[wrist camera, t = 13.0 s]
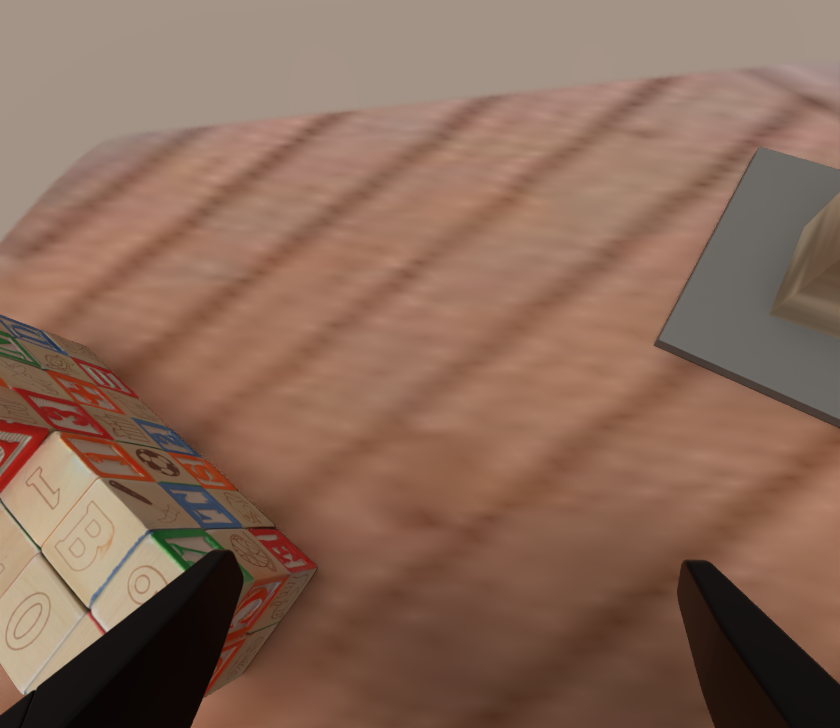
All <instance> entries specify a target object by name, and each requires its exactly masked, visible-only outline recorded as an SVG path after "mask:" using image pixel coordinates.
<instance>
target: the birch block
mask: <svg viewBox="0 0 840 728" xmlns="http://www.w3.org/2000/svg"><path fill="white" fill-rule="evenodd" d="M769 315H771V316H774V317H777V318H779V319H782V320H785V321H788V322H791V323H794V324H797V325H800V326H803V327H805V328H808V329H811V330H814V331H817V332H820V333H823V334H826V335H829V336H831V337H834V338H837V339H840V192H839V193H838V194H837V195H836V196H835V197H834V198H833V199H832V200H831V201H830V202H829V203H828V204H827V205H826V206H825V207H824V208H823V209H822V210H821V211H820V212H819V213H818V214H817V215H816V216H815V217H814V218H813V219H812V220H811V221H810V222H809V223H808V224H807V225H806V226H805V227H804V229H803V231H802V234H801V236H800V239H799V241H798V244H797V246H796V248H795V251H794V253H793V256H792V258H791V261H790V263H789V266H788V268H787V271H786V273H785V276H784V278H783V281H782V283H781V286H780V288H779V291H778V293H777V296H776V298H775V300H774V303H773V305H772V308H771V310H770V313H769Z"/></svg>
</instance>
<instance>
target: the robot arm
mask: <svg viewBox="0 0 840 728" xmlns="http://www.w3.org/2000/svg"><path fill="white" fill-rule="evenodd" d="M243 583H244V576H243V572H242V570H241V568H240V566H239V563H238V561H237V559H236V556H235V554H234V552H233V551H231V550H229V549H214V550H212V551H210V552H208V553H207V554H206V555H205V556H203V557H202V558H201V559H199V560H198V561H197V562H196V563H194V564H193V565H192V566H191V567H189V568H188V569H187V570H185V571H184V572H183V573H182V574H180V575H179V576H178V577H177V578H175V579H174V580H173V581H171V582H170V583H169V584H168V585H166V586H165V587H164V588H162V589H161V590H160V591H159V592H157V593H156V594H155V595H154V596H152V597H151V598H150V599H148V600H147V601H146V602H145V603H143V604H142V605H141V606H140V607H138V608H137V609H136V610H134V611H133V612H132V613H131V614H129V615H128V616H127V617H125V618H124V619H123V620H122V621H120V622H119V623H118V624H117V625H115V626H114V627H113V628H111V629H110V630H109V631H108V632H106V633H105V634H104V635H103V636H101V637H100V638H99V639H97V640H96V641H95V642H94V643H92V644H91V645H90V646H88V647H87V648H86V649H85V650H83V651H82V652H81V653H80V654H78V655H77V656H76V657H74V658H73V659H72V660H71V661H69V662H68V663H67V664H65V665H64V666H63V667H62V668H60V669H59V670H58V671H57V672H55V673H54V674H53V675H51V676H50V677H49V678H48V679H46V680H45V681H44V682H42V683H41V684H40V685H39V686H38V687H37V688H36V690H32V691H31V692H30V693H28V694H27V695H26V696H24V697H23V698H22V699H21V700H19V701H18V702H17V703H16V704H14V705H13V706H12V707H10V708H9V709H8V710H6V711H5V712H4V713H3V714H1V715H0V728H190V727H191V725H192V723H193V720H194V718H195V716H196V713H197V711H198V709H199V706H200V704H201V702H202V699H203V697H204V695H205V692H206V690H207V687H208V685H209V683H210V680H211V678H212V676H213V673H214V671H215V668H216V666H217V663H218V661H219V658H220V656H221V653H222V650H223V647H224V644H225V641H226V638H227V635H228V632H229V628H230V625H231V622H232V619H233V616H234V613H235V610H236V607H237V604H238V601H239V597H240V594H241V591H242V588H243ZM677 596H678V602H679V606H680V610H681V614H682V618H683V622H684V625H685V629H686V633H687V637H688V641H689V644H690V648H691V652H692V656H693V659H694V663H695V667H696V671H697V675H698V678H699V682H700V686H701V689H702V693H703V696H704V699H705V701H706V704H707V707H708V710H709V713H710V715H711V718H712V721H713V723H714V726H715V728H840V684H839V683H838V682H837V681H836V680H835V679H834V678H833V677H832V676H831V675H829V674H828V673H827V672H826V671H825V670H824V669H823V668H822V667H821V666H820V665H819V664H818V663H817V662H816V661H815V660H814V659H813V658H811V657H810V656H809V655H808V654H807V653H806V652H805V651H804V650H803V649H802V648H801V647H800V646H799V645H798V644H797V643H796V642H794V641H793V640H792V639H791V638H790V637H789V636H788V635H787V634H786V633H785V632H784V631H783V630H782V629H781V628H780V627H779V626H778V625H776V624H775V623H774V622H773V621H772V620H771V619H770V618H769V617H768V616H767V615H766V614H765V613H764V612H763V611H762V610H761V609H759V608H758V607H757V606H756V605H755V604H754V603H753V602H752V601H751V600H750V599H749V598H748V597H747V596H746V595H745V594H744V593H743V592H741V591H740V590H739V589H738V588H737V587H736V586H735V585H734V584H733V583H732V582H731V581H730V580H729V579H728V578H727V577H726V576H724V575H723V574H722V573H721V572H720V571H719V570H718V569H717V568H716V567H715V566H714V565H713V564H712V563H710V562H708V561H706V560H684V561H683V562H682V565H681V570H680V576H679V582H678V588H677Z"/></svg>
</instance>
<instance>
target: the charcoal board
mask: <svg viewBox="0 0 840 728" xmlns="http://www.w3.org/2000/svg"><path fill="white" fill-rule="evenodd" d="M839 192H840V170H839V169H835V168H832V167H828V166H825V165H822V164H818V163H815V162H811V161H808V160H804V159H801V158H797V157H794V156H791V155H787V154H784V153H780V152H777V151H773V150H770V149H766V148H763V147H759V148H758V150H757V151H756V153H755V154H754V156H753V157H752V159H751V161H750V163H749V165H748V167H747V169H746V171H745V173H744V174H743V176H742V178H741V180H740V182H739V184H738V186H737V188H736V190H735V192H734V194H733V195H732V197H731V199H730V201H729V203H728V205H727V207H726V209H725V211H724V213H723V214H722V216H721V218H720V220H719V222H718V224H717V226H716V228H715V230H714V232H713V233H712V235H711V237H710V239H709V241H708V243H707V245H706V247H705V249H704V251H703V252H702V254H701V256H700V258H699V260H698V262H697V264H696V266H695V268H694V270H693V271H692V273H691V275H690V277H689V279H688V281H687V283H686V285H685V287H684V289H683V290H682V292H681V294H680V296H679V298H678V300H677V302H676V304H675V306H674V308H673V310H672V311H671V313H670V315H669V317H668V319H667V321H666V323H665V325H664V327H663V329H662V330H661V332H660V334H659V336H658V338H657V340H656V342H655V344H654V345H655V346H657V347H659V348H662V349H664V350H666V351H668V352H671V353H673V354H675V355H677V356H680V357H682V358H684V359H686V360H689V361H691V362H693V363H695V364H698V365H700V366H702V367H704V368H707V369H709V370H711V371H713V372H716V373H718V374H720V375H722V376H724V377H727V378H729V379H731V380H733V381H736V382H738V383H740V384H742V385H745V386H747V387H749V388H751V389H754V390H756V391H758V392H760V393H763V394H765V395H767V396H769V397H772V398H774V399H776V400H778V401H781V402H783V403H785V404H787V405H790V406H792V407H794V408H796V409H799V410H801V411H803V412H805V413H808V414H810V415H812V416H814V417H817V418H819V419H821V420H823V421H826V422H828V423H830V424H832V425H834V426H837V427H839V428H840V339H837V338H834V337H831V336H829V335H826V334H823V333H820V332H817V331H814V330H811V329H808V328H805V327H803V326H800V325H797V324H794V323H791V322H788V321H785V320H782V319H779V318H777V317H774V316H771V315H769V313H770V310H771V308H772V305H773V303H774V300H775V298H776V296H777V293H778V291H779V288H780V286H781V283H782V281H783V278H784V276H785V273H786V271H787V268H788V266H789V263H790V261H791V258H792V256H793V253H794V251H795V248H796V246H797V244H798V241H799V239H800V236H801V234H802V231H803V229H804V227H805V226H806V225H807V224H808V223H809V222H810V221H811V220H812V219H813V218H814V217H815V216H816V215H817V214H818V213H819V212H820V211H821V210H822V209H823V208H824V207H825V206H826V205H827V204H828V203H829V202H830V201H831V200H832V199H833V198H834V197H835V196H836V195H837V194H838V193H839Z"/></svg>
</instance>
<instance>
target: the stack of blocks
mask: <svg viewBox="0 0 840 728" xmlns="http://www.w3.org/2000/svg"><path fill="white" fill-rule="evenodd" d="M214 549H229V550H231V551H233V552H234V554H235V556H236V559H237V561H238V563H239V566H240V568H241V570H242V572H243V576H244V583H243V588H242V591H241V594H240V597H239V601H238V604H237V607H236V610H235V613H234V616H233V619H232V622H231V625H230V628H229V632H228V635H227V638H226V641H225V644H224V647H223V650H222V653H221V656H220V658H219V661H218V663H217V666H216V668H215V671H214V673H213V676H212V678H211V680H210V683H209V685H208V687H207V690H206V692H205V695H204V697H207V696H208V695H210V694H211V693H213V692H214V691H216V690H218V689H219V688H221V687H223V686H224V685H226V684H228V683H229V682H231V681H233V680H234V679H236V678H238V677H239V676H240V675H242V674H243V672H244V671H245V669H246V668H247V666H248V665H249V663H250V662H251V661H252V659H253V658H254V657H255V655H256V654H257V652H258V651H259V650H260V648H261V647H262V645H263V644H264V643H265V641H266V640H267V638H268V637H269V636H270V634H271V633H272V632H273V630H274V629H275V627H276V626H277V624H278V622H279V621H280V620H281V619H282V618H283V617H284V615H285V614H286V613H287V611H288V610H289V609H290V607H291V606H292V605H293V603H294V602H295V601H296V599H297V598H298V596H299V595H300V593H301V592H302V591H303V589H304V588H305V586H306V585H307V583H308V582H309V580H310V579H311V577H312V576H313V574H314V572H315V571H316V569H317V566H316V565H315V564H314V563H313V562H312V561H311V560H310V559H308V558H307V557H306V556H305V555H304V554H303V553H302V552H301V551H300V550H299V549H297V548H296V547H295V546H294V545H293V544H292V543H291V542H290V541H289V540H288V539H287V538H286V537H284V536H283V535H282V534H281V533H280V532H279V531H278V530H275V526H274V524H273V523H272V522H271V521H270V520H269V519H268V518H267V517H266V516H265V515H263V514H262V513H261V512H260V511H259V510H258V509H257V508H256V507H255V506H254V505H253V504H252V503H251V502H250V501H248V500H247V499H246V498H245V497H244V496H243V495H242V494H241V493H239V492H238V491H237V490H236V488H235V487H234V486H233V485H232V484H231V483H230V482H229V481H228V480H226V479H225V478H224V477H223V476H222V475H221V474H220V473H219V472H218V471H217V470H216V469H215V468H214V467H213V466H212V465H211V464H209V463H208V461H206V460H205V459H203V458H201V457H200V456H199V455H198V454H197V453H196V452H195V451H194V450H193V449H191V448H190V447H189V446H188V445H187V444H186V443H185V442H184V441H183V440H182V439H181V438H180V437H179V436H178V435H177V434H176V433H175V432H174V431H173V430H171V429H170V428H168V427H167V426H166V425H165V424H164V423H163V422H162V421H161V420H160V419H159V418H158V417H157V416H156V415H155V414H154V413H153V412H152V411H151V410H150V409H149V408H147V407H146V406H145V405H144V404H143V403H142V402H141V401H140V400H139V398H138V396H136V395H135V394H134V393H133V392H132V391H131V390H130V389H129V388H128V387H127V386H126V385H125V384H124V383H123V382H122V381H121V380H120V379H119V378H118V377H117V376H115V375H114V374H113V373H112V372H111V371H110V370H109V368H108V367H107V366H106V365H105V364H104V363H102V362H101V361H100V360H99V359H98V358H97V357H96V356H95V355H94V354H93V353H92V352H91V351H90V350H89V349H88V348H87V347H85V346H83V345H81V344H78V343H76V342H73V341H70V340H67V339H65V338H62V337H60V336H57V335H55V334H52V333H50V332H47V331H44V330H39V329H36V328H34V327H31V326H29V325H26V324H24V323H21V322H18V321H15V320H13V319H10V318H7V317H5V316H3V315H0V663H1V665H2V666H3V668H4V669H5V671H6V672H7V674H8V675H9V677H10V678H11V680H12V681H13V683H14V684H15V686H16V687H17V689H18V690H19V691H20V692H21V693H22V694H23V695H25V694H26V695H27V694H28V693H30V692H31V691H32V690H36V688H37V687H38V686H39V685H40V684H41V683H42V682H44V681H45V680H46V679H48V678H49V677H50V676H51V675H53V674H54V673H55V672H57V671H58V670H59V669H60V668H62V667H63V666H64V665H65V664H67V663H68V662H69V661H71V660H72V659H73V658H74V657H76V656H77V655H78V654H80V653H81V652H82V651H83V650H85V649H86V648H87V647H88V646H90V645H91V644H92V643H94V642H95V641H96V640H97V639H99V638H100V637H101V636H103V635H104V634H105V633H106V632H108V631H109V630H110V629H111V628H113V627H114V626H115V625H117V624H118V623H119V622H120V621H122V620H123V619H124V618H125V617H127V616H128V615H129V614H131V613H132V612H133V611H134V610H136V609H137V608H138V607H140V606H141V605H142V604H143V603H145V602H146V601H147V600H148V599H150V598H151V597H152V596H154V595H155V594H156V593H157V592H159V591H160V590H161V589H162V588H164V587H165V586H166V585H168V584H169V583H170V582H171V581H173V580H174V579H175V578H177V577H178V576H179V575H180V574H182V573H183V572H184V571H185V570H187V569H188V568H189V567H191V566H192V565H193V564H194V563H196V562H197V561H198V560H199V559H201V558H202V557H203V556H205V555H206V554H207V553H208V552H210V551H212V550H214Z"/></svg>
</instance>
